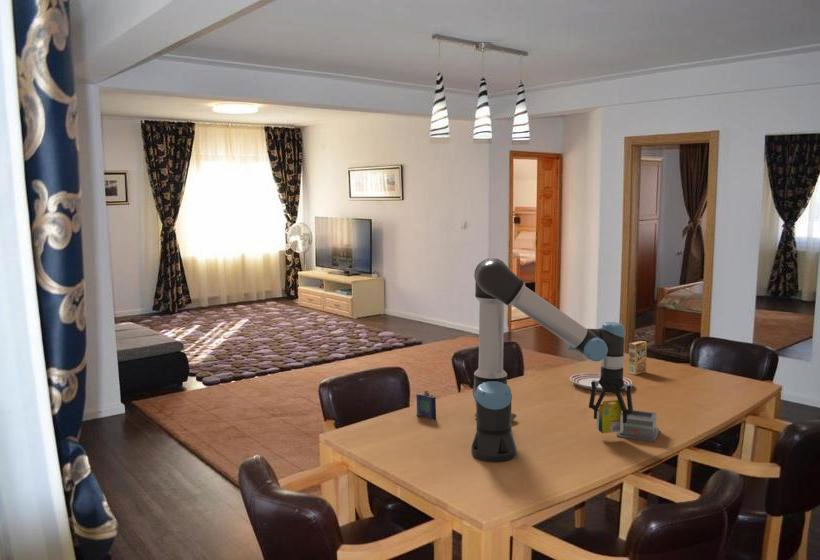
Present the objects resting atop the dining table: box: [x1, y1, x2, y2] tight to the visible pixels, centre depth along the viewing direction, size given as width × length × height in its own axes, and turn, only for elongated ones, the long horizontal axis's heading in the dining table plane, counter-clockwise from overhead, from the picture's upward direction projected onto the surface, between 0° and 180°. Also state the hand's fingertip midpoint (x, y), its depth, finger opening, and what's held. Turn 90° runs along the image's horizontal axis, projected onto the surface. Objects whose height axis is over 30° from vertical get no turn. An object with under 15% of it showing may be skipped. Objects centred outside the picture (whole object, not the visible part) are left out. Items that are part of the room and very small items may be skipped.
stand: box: [616, 409, 660, 443], centre depth 234 cm, size 13×13×7 cm
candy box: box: [628, 340, 648, 375], centre depth 316 cm, size 9×4×15 cm, turn 126°
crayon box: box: [598, 399, 622, 434], centre depth 228 cm, size 7×3×12 cm, turn 100°
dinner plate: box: [569, 372, 633, 392], centre depth 296 cm, size 27×27×3 cm
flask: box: [415, 390, 437, 420], centre depth 256 cm, size 9×3×11 cm, turn 50°
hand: (609, 429), depth 229 cm, fingers closed on crayon box, 7 cm apart
